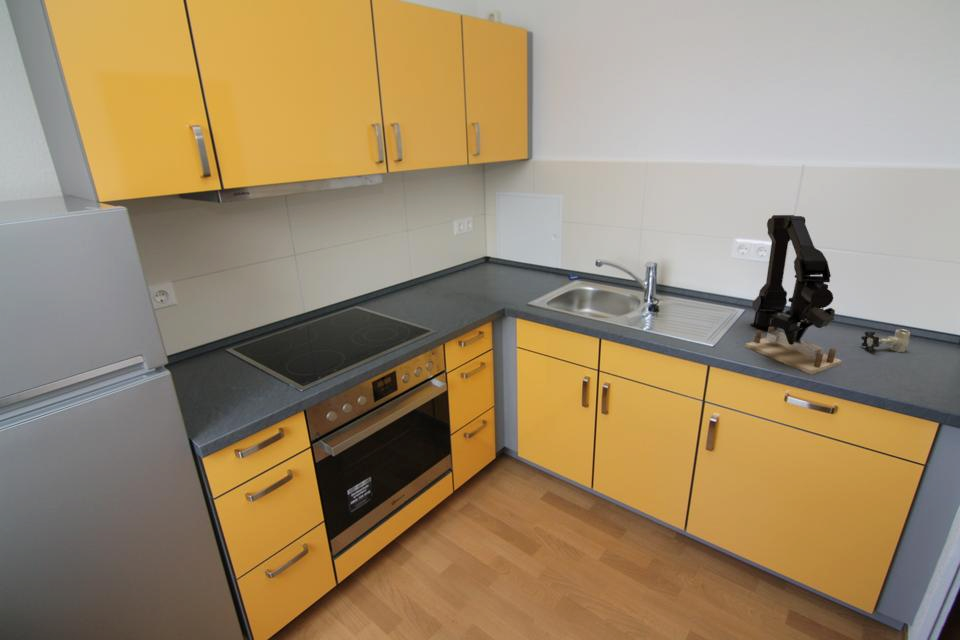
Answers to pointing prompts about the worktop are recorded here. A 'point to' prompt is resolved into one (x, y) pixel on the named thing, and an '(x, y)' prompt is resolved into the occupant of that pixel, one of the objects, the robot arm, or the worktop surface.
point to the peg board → (793, 355)
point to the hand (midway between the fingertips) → (793, 343)
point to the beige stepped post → (794, 344)
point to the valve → (888, 340)
